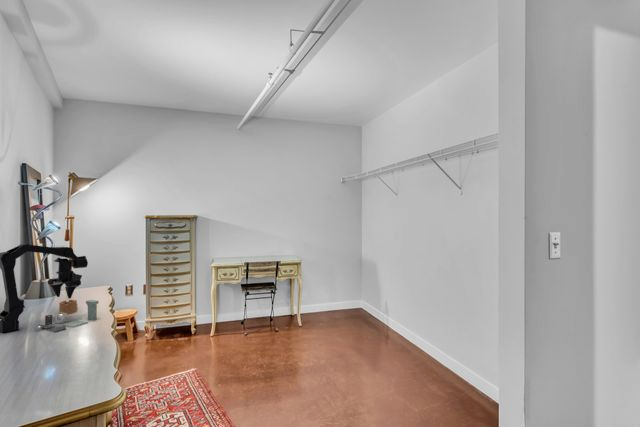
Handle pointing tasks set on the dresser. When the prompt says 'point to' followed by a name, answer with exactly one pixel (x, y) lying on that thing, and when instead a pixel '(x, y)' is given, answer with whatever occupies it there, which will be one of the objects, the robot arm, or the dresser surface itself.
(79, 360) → the dresser surface
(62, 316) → the silver bell
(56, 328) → the rail
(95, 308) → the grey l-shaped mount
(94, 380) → the dresser surface
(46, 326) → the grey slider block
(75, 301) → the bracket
